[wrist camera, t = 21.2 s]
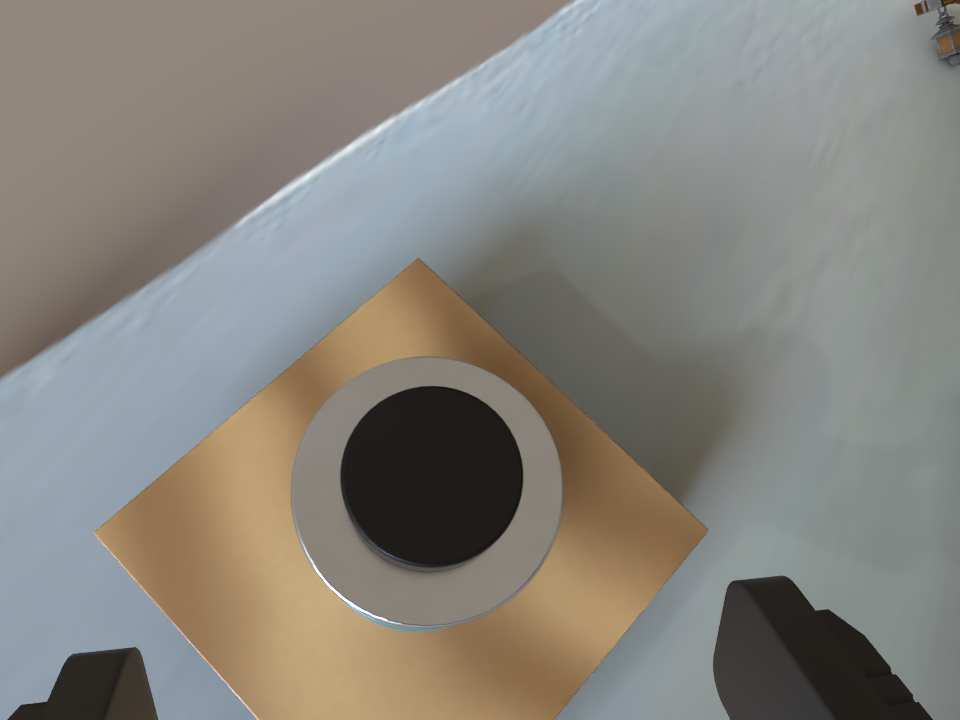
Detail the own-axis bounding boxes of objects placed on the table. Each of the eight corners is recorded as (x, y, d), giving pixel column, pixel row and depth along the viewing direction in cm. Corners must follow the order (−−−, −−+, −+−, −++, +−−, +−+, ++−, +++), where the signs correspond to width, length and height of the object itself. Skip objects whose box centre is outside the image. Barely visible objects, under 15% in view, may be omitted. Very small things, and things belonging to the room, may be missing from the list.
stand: (413, 319, 28) (418, 257, 23) (652, 547, 26) (709, 529, 21) (149, 551, 24) (92, 532, 20) (406, 839, 22) (411, 895, 18)
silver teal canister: (416, 415, 22) (433, 279, 13) (539, 535, 21) (640, 472, 12) (286, 537, 20) (212, 470, 12) (414, 672, 19) (432, 706, 11)
